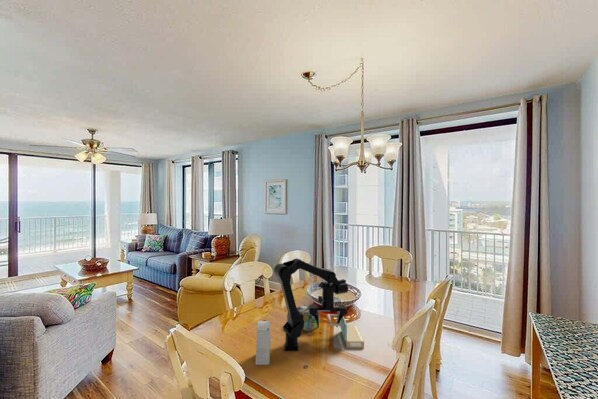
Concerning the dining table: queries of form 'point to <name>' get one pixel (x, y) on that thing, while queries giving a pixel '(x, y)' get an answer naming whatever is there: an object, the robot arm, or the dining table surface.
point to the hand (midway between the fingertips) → (327, 326)
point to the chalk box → (308, 318)
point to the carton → (353, 338)
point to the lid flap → (342, 325)
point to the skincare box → (263, 343)
